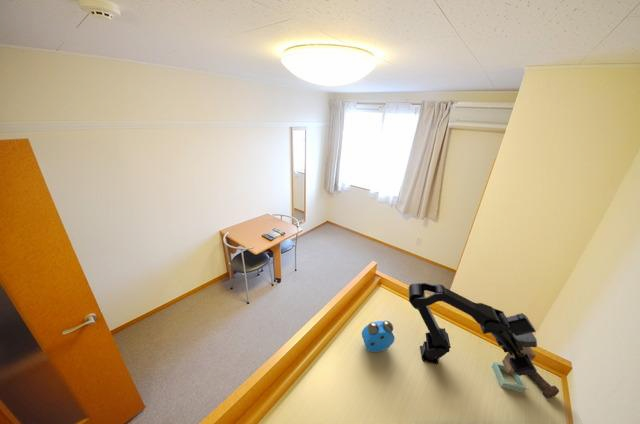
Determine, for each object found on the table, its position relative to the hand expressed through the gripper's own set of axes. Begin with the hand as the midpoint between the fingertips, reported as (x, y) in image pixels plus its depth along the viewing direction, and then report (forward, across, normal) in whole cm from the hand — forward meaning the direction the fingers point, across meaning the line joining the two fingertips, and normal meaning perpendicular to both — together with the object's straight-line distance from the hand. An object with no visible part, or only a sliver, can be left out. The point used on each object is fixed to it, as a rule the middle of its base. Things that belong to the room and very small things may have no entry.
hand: (522, 359), depth 86 cm
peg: (+4, 0, +6) cm, 7 cm away
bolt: (+17, +3, +3) cm, 17 cm away
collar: (+9, 0, +10) cm, 13 cm away
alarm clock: (-29, 0, +47) cm, 55 cm away
